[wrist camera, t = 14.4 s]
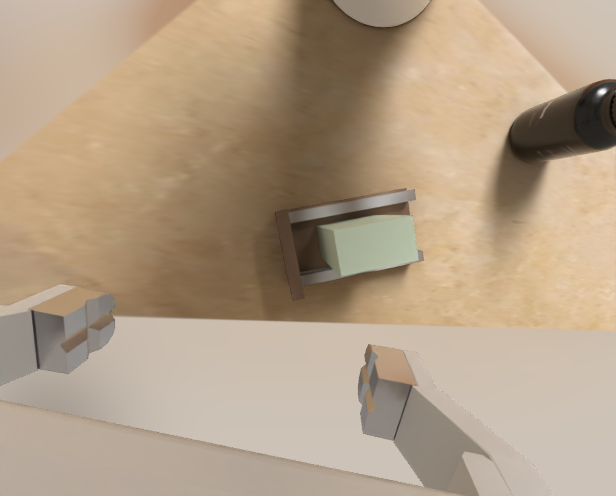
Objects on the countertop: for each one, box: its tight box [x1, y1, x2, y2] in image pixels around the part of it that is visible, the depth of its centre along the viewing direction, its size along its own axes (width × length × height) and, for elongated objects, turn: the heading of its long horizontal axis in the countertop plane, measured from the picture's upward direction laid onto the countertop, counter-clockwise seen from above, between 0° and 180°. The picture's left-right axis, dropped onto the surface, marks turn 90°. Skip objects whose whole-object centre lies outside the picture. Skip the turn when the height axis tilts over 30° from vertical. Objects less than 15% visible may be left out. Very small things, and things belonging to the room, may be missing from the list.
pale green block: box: [316, 215, 419, 277], centre depth 29 cm, size 7×4×10 cm, turn 101°
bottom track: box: [275, 188, 424, 301], centre depth 32 cm, size 16×9×6 cm, turn 101°
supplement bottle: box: [510, 79, 616, 163], centre depth 31 cm, size 7×7×12 cm
